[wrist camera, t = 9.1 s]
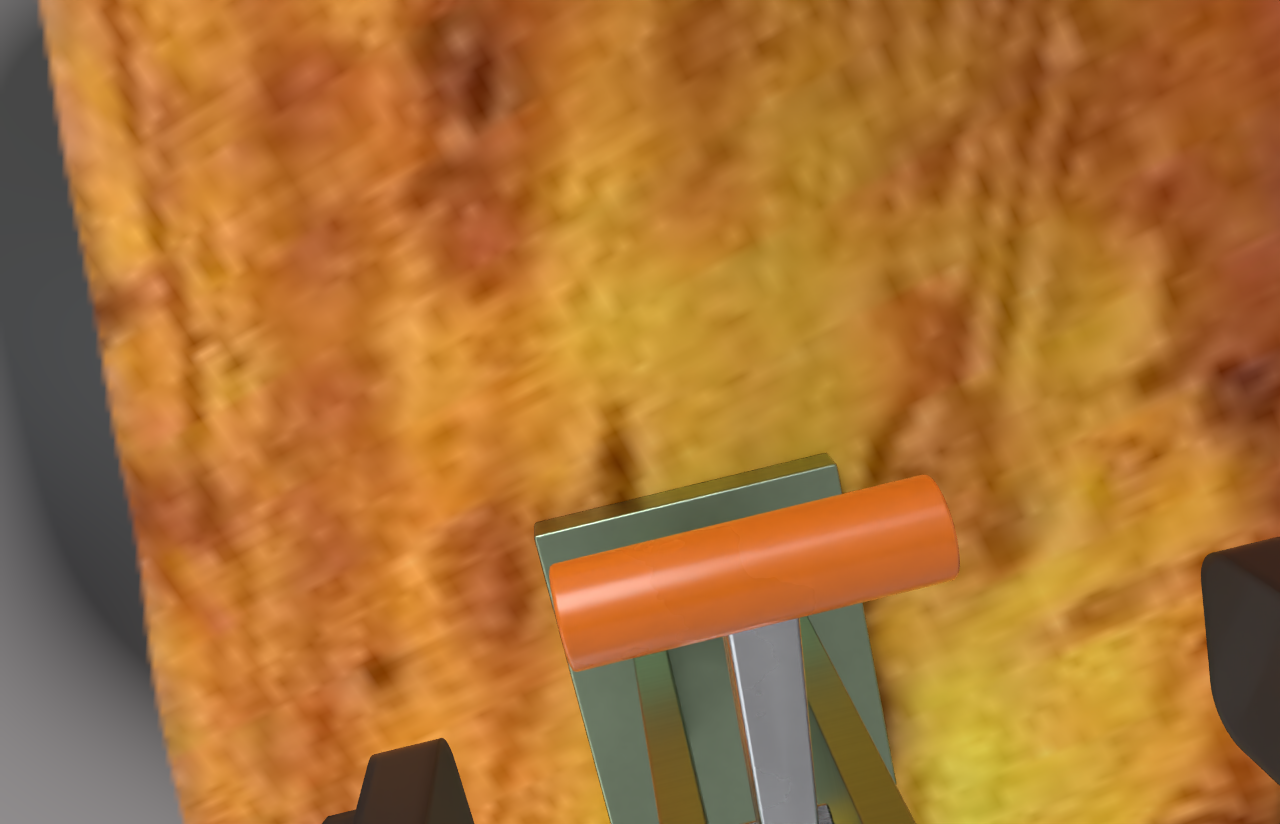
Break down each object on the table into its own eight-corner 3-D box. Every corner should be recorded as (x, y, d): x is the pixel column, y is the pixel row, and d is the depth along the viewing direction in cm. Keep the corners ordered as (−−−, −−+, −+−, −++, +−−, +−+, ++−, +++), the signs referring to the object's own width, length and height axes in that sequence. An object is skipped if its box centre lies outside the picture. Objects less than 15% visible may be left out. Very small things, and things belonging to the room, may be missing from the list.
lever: (539, 521, 17) (560, 658, 15) (912, 431, 17) (975, 557, 15) (667, 896, 26) (689, 1006, 24) (903, 838, 26) (942, 944, 25)
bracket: (533, 522, 34) (526, 771, 21) (827, 451, 34) (997, 656, 21) (616, 833, 37) (655, 1218, 24) (886, 766, 37) (1067, 1113, 24)
